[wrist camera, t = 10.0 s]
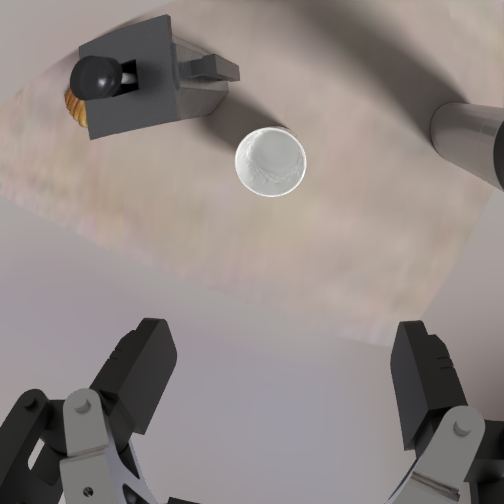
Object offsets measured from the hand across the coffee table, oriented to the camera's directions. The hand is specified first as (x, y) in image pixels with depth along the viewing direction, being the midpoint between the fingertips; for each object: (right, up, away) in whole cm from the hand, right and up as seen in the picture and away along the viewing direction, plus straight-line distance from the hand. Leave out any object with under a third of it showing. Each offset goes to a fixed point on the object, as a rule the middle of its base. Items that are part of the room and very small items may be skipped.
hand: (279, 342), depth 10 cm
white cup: (+3, +17, +32) cm, 36 cm away
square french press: (-8, +27, +29) cm, 40 cm away
